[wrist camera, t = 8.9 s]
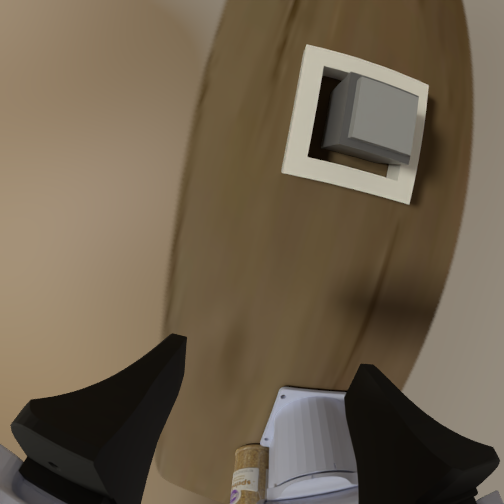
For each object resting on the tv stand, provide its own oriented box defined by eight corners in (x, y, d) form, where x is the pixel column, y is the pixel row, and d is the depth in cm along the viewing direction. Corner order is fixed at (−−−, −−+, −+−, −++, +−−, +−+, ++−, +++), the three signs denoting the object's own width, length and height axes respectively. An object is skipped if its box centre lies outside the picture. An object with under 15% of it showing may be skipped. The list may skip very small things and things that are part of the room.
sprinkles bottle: (239, 439, 27) (227, 547, 14) (280, 445, 27) (280, 551, 14) (231, 458, 28) (219, 554, 16) (268, 464, 28) (265, 558, 16)
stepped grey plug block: (375, 162, 18) (415, 165, 12) (320, 147, 18) (342, 142, 12) (384, 109, 17) (425, 93, 11) (330, 92, 17) (355, 67, 11)
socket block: (397, 200, 19) (409, 204, 17) (281, 171, 19) (282, 172, 17) (415, 90, 16) (428, 85, 14) (303, 54, 16) (306, 44, 14)
